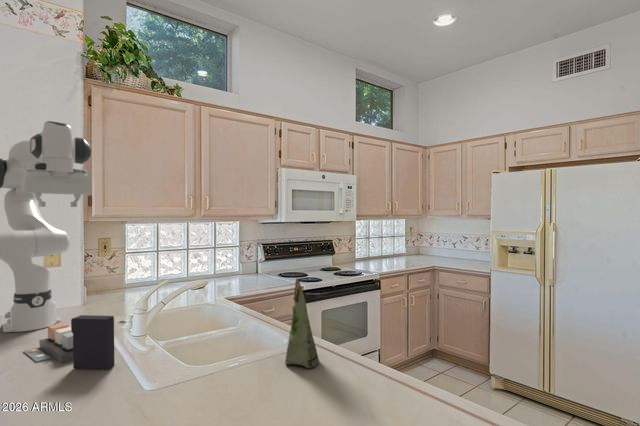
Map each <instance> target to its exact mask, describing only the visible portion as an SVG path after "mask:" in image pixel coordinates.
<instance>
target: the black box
mask: <svg viewBox="0 0 640 426" xmlns="http://www.w3.org/2000/svg"><path fill="white" fill-rule="evenodd" d="M70 327H71V331H72V333H73V360H72V362H73V369H75V370H99V371H100V370H101V371H108V370H109V369H112V368H113V367H115V316H114V315H93V314H92V315H84V314H81V315H78V316H75V317H72V318H71V320H70Z"/></svg>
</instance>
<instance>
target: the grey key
mask: <svg viewBox="0 0 640 426" xmlns="http://www.w3.org/2000/svg"><path fill="white" fill-rule="evenodd" d="M62 346H63V347H64V348H66V349H72V348H73V333H72V332H71V333H66V334H62Z"/></svg>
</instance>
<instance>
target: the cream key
mask: <svg viewBox="0 0 640 426" xmlns="http://www.w3.org/2000/svg"><path fill="white" fill-rule="evenodd" d="M71 332H72V331H71V326H68V327H67V328H62V329H58V330H55V342H56V343H58V344H62V334H66V333H71Z"/></svg>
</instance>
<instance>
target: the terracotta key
mask: <svg viewBox="0 0 640 426" xmlns="http://www.w3.org/2000/svg"><path fill="white" fill-rule="evenodd" d="M67 327H69V325H68V324H67V323H65V322H61V323H57V324H56V323H55V324H53V325H51V326H48V327H47V338H50V339H52V340H55V330H58V329H62V328H67Z"/></svg>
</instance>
